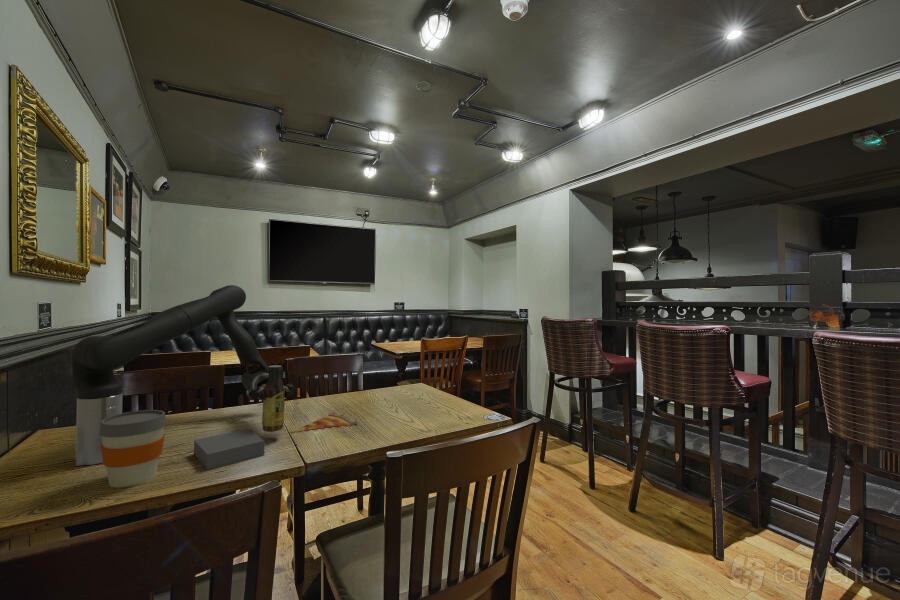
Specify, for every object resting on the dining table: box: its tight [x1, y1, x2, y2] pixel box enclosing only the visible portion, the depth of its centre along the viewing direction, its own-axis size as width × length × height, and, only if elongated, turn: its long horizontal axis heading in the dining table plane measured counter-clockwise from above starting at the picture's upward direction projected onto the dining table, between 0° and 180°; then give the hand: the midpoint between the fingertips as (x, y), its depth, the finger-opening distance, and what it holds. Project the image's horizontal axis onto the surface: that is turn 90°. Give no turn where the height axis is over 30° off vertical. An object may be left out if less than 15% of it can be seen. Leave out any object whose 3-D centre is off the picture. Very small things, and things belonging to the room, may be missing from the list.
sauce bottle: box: [261, 364, 286, 433], centre depth 121 cm, size 7×6×20 cm
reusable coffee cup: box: [99, 409, 167, 488], centre depth 94 cm, size 13×13×15 cm
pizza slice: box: [289, 411, 359, 434], centre depth 138 cm, size 16×22×2 cm
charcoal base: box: [193, 428, 265, 471], centre depth 109 cm, size 14×14×4 cm
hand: (276, 395), depth 119 cm, fingers closed on sauce bottle, 6 cm apart
